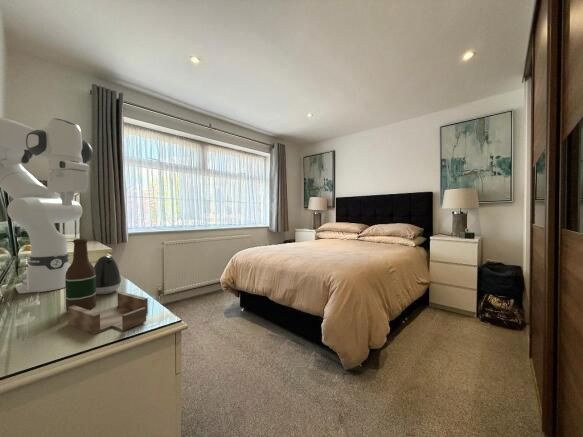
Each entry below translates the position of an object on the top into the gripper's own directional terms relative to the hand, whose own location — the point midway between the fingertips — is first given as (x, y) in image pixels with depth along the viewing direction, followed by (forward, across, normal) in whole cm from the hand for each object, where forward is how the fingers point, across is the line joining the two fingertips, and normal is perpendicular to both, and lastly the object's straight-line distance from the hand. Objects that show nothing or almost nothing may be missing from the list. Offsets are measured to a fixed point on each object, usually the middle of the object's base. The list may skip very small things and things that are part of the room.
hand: (66, 205), depth 85 cm
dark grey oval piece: (+36, -2, +13) cm, 38 cm away
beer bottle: (+36, +9, 0) cm, 37 cm away
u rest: (+35, +29, 0) cm, 46 cm away
